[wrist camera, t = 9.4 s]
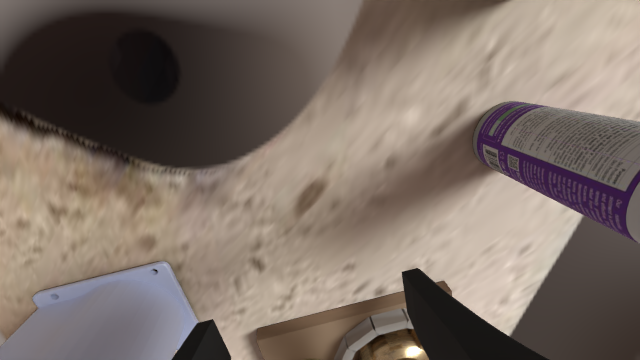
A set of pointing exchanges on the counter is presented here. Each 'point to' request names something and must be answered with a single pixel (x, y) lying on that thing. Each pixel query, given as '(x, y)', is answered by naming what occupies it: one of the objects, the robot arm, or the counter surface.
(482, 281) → the counter surface
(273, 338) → the carrier board
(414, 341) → the planet gear
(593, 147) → the container
